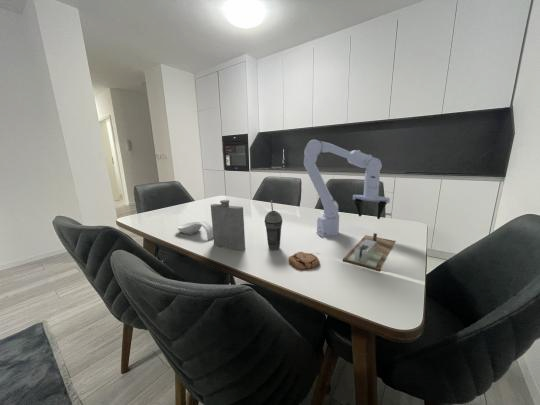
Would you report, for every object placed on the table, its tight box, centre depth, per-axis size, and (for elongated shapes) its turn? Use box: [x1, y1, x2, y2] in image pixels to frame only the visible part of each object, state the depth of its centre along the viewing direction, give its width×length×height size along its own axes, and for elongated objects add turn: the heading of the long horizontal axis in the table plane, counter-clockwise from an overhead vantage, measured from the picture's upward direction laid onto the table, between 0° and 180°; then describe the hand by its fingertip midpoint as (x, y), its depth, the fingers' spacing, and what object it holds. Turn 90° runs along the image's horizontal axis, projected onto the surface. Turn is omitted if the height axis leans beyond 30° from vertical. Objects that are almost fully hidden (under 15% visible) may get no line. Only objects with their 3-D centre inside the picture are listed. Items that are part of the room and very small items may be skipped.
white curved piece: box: [177, 221, 214, 241], centre depth 109 cm, size 24×12×7 cm, turn 53°
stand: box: [342, 232, 397, 273], centre depth 84 cm, size 28×12×6 cm, turn 142°
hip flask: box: [210, 199, 246, 251], centre depth 91 cm, size 16×4×20 cm, turn 61°
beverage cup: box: [264, 199, 283, 251], centre depth 89 cm, size 7×7×20 cm
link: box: [354, 239, 377, 263], centre depth 79 cm, size 11×4×4 cm, turn 139°
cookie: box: [288, 251, 320, 271], centre depth 78 cm, size 10×11×3 cm
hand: (369, 217), depth 97 cm, fingers open, 7 cm apart
